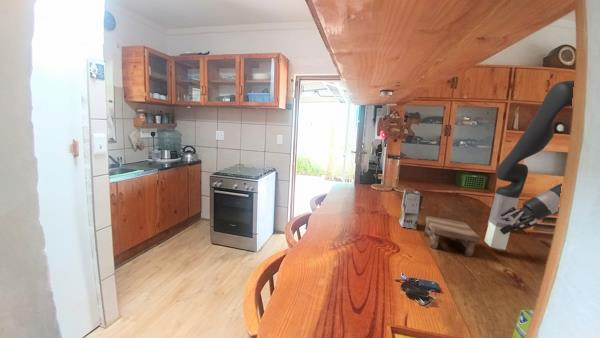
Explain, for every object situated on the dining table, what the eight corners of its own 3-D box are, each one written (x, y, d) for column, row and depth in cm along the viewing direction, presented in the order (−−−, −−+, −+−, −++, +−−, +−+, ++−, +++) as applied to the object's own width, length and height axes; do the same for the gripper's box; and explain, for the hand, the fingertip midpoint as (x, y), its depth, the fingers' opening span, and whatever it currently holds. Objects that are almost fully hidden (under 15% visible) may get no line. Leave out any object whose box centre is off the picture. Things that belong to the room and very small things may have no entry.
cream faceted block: (484, 240, 105) (490, 217, 103) (498, 243, 103) (504, 219, 102) (490, 246, 99) (496, 222, 98) (505, 249, 98) (512, 225, 96)
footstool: (422, 233, 113) (426, 215, 111) (460, 240, 109) (465, 222, 108) (430, 248, 98) (434, 228, 97) (474, 257, 95) (479, 237, 93)
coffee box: (416, 230, 115) (423, 195, 112) (401, 227, 116) (408, 193, 114) (412, 223, 124) (418, 190, 121) (398, 220, 125) (404, 188, 122)
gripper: (525, 191, 102) (483, 215, 107) (549, 202, 88) (500, 228, 93) (537, 207, 102) (495, 229, 107) (563, 220, 88) (513, 245, 93)
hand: (498, 228), depth 100 cm, fingers closed on cream faceted block, 5 cm apart
